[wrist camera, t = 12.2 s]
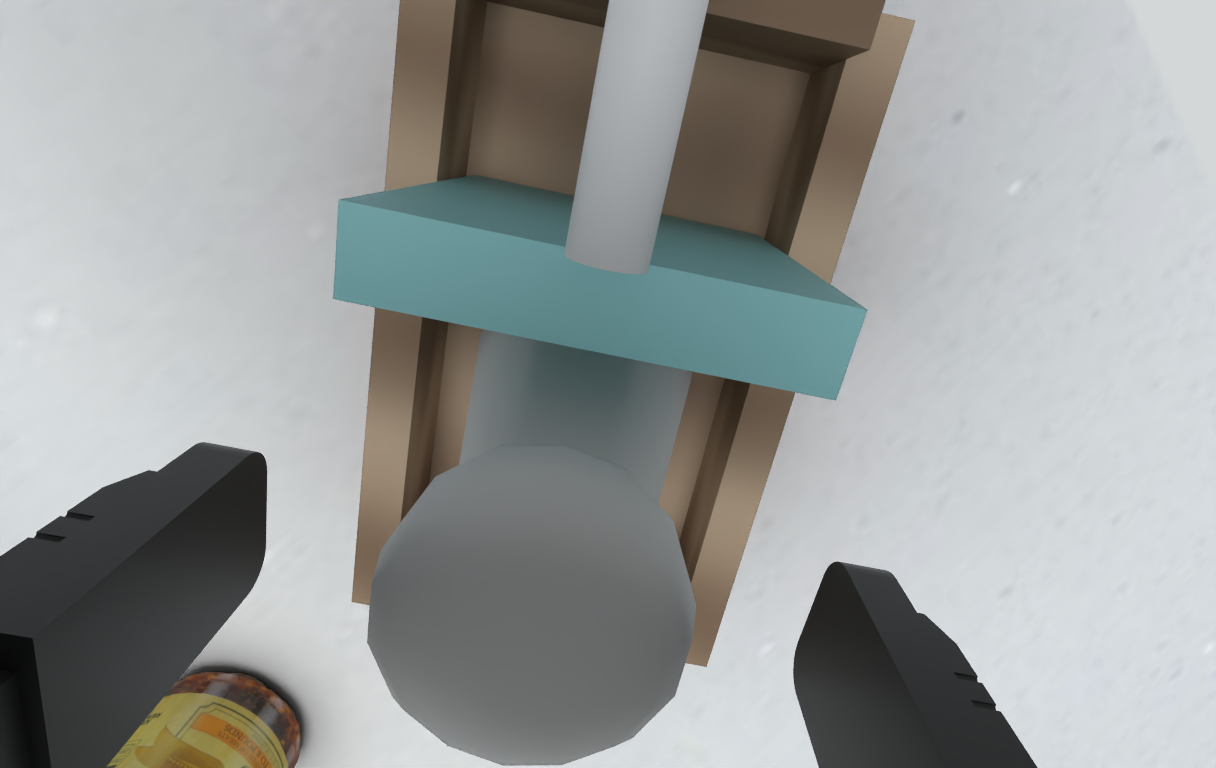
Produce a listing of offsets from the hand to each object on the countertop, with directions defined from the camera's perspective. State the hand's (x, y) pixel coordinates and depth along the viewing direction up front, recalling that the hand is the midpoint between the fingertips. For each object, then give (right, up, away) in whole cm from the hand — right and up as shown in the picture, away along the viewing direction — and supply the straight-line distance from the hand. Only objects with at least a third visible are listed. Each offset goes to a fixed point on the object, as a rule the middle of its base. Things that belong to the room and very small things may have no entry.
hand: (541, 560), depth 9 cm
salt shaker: (0, +4, +11) cm, 11 cm away
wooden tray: (0, +5, +11) cm, 12 cm away
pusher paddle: (+2, +10, +8) cm, 13 cm away
